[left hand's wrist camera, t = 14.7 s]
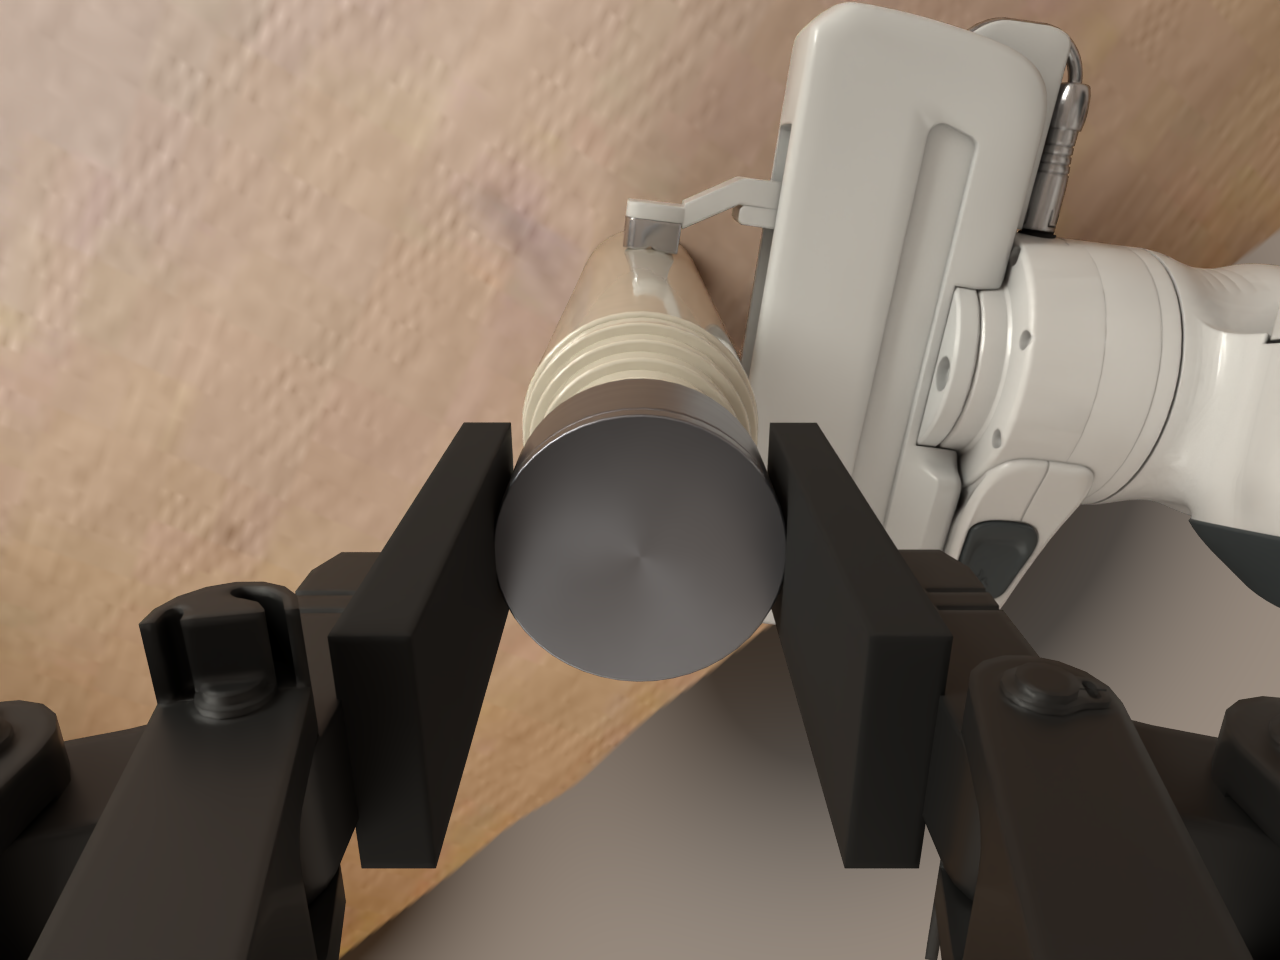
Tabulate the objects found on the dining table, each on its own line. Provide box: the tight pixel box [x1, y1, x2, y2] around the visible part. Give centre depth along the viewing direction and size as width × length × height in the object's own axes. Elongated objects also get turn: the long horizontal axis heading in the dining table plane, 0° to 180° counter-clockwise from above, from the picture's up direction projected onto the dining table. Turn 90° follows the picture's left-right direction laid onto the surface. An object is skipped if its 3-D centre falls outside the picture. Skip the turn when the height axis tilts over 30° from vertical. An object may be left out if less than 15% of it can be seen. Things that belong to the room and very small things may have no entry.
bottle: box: [522, 231, 758, 447], centre depth 24 cm, size 5×5×24 cm
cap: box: [494, 378, 787, 682], centre depth 13 cm, size 4×4×2 cm
